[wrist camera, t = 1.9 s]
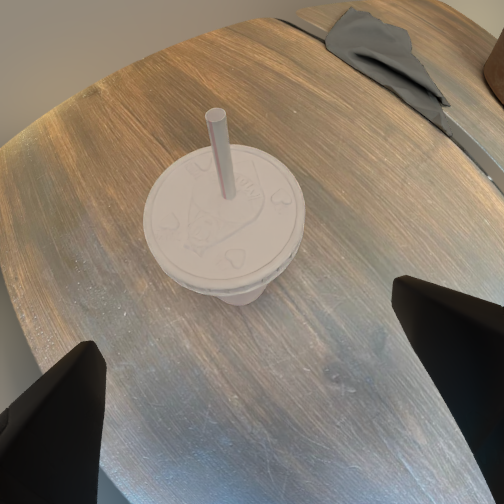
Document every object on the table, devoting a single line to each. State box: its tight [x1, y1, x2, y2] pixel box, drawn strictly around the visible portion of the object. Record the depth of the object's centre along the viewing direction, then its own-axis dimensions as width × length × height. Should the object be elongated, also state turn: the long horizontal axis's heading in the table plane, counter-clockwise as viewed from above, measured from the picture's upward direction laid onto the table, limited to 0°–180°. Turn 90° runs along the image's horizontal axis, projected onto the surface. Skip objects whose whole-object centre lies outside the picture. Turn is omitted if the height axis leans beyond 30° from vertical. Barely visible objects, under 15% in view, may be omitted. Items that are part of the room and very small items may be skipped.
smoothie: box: [143, 108, 305, 306], centre depth 14 cm, size 6×6×14 cm
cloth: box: [325, 7, 453, 136], centre depth 29 cm, size 26×14×2 cm, turn 177°
